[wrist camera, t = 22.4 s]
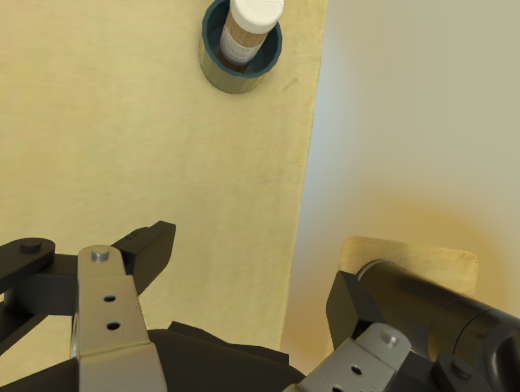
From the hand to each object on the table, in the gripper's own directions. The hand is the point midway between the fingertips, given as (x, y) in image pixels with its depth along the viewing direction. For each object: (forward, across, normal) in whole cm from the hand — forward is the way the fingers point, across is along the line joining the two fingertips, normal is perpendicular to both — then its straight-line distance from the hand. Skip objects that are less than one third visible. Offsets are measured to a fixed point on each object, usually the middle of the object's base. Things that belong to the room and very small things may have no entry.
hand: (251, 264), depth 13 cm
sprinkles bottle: (+27, +9, -14) cm, 32 cm away
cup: (+28, +10, -14) cm, 32 cm away
